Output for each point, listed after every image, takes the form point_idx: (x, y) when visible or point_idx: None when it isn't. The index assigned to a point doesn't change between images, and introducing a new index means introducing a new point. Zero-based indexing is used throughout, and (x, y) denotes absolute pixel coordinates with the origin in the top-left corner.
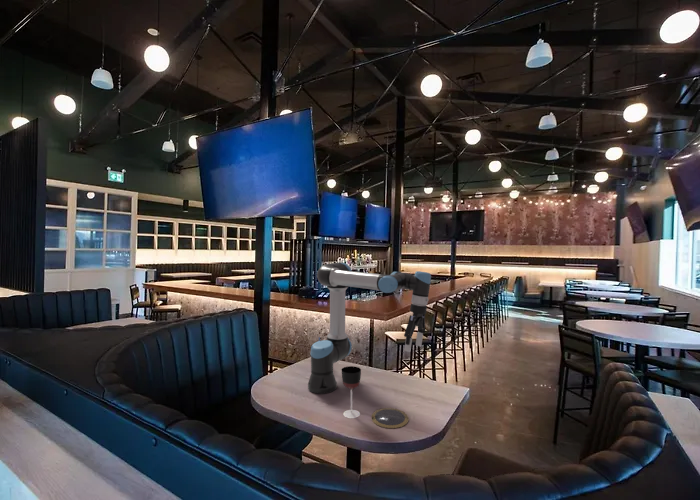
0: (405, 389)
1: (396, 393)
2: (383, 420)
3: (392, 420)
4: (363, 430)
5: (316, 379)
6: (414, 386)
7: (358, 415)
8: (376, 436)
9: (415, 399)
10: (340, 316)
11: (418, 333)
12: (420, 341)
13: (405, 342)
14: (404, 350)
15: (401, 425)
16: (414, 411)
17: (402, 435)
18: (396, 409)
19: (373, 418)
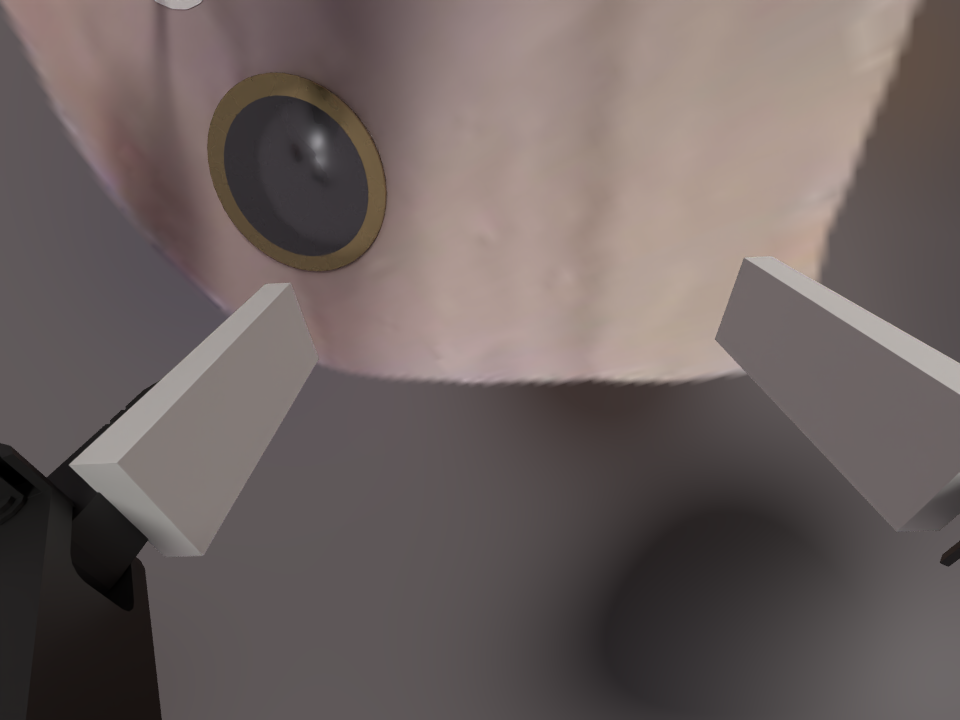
0: (650, 76)
1: (563, 50)
2: (249, 173)
3: (283, 210)
4: (132, 130)
5: None
6: (722, 110)
7: (185, 2)
8: (157, 209)
9: (546, 202)
10: None
11: (939, 433)
12: (767, 373)
13: (181, 365)
14: (264, 290)
15: (285, 262)
16: (429, 253)
17: (247, 291)
18: (378, 172)
19: (224, 114)
